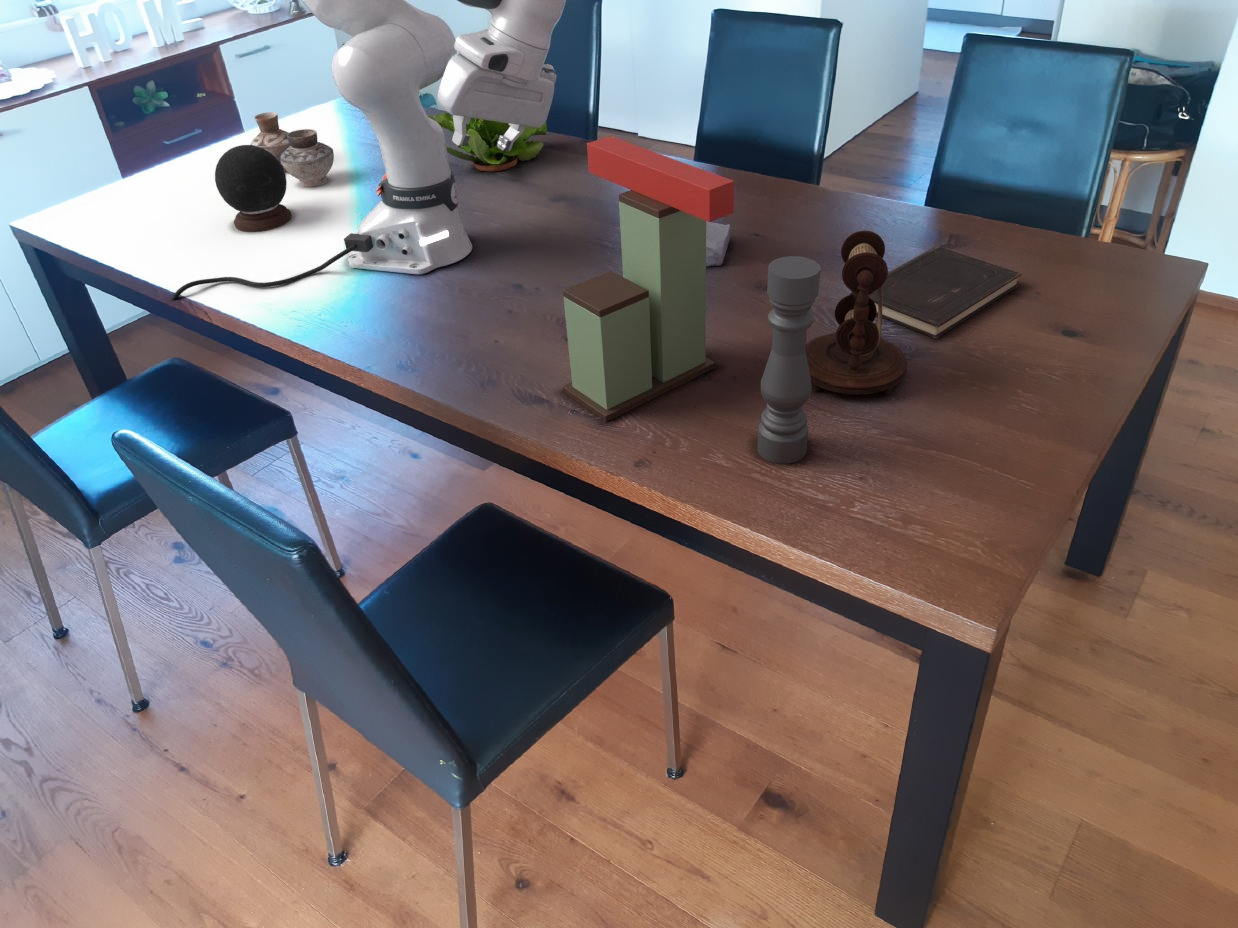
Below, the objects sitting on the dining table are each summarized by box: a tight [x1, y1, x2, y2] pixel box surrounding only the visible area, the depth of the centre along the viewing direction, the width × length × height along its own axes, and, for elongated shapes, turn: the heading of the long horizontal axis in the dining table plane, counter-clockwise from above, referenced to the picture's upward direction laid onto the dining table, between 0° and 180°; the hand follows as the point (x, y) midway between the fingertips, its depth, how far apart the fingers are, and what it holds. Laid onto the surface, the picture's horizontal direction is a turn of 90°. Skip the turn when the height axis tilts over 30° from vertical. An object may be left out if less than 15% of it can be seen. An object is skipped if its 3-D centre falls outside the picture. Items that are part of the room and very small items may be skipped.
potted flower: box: [427, 112, 548, 173], centre depth 198 cm, size 25×24×18 cm
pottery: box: [250, 111, 335, 188], centre depth 202 cm, size 11×25×12 cm, turn 47°
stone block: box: [706, 221, 731, 267], centre depth 162 cm, size 12×5×10 cm
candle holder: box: [756, 255, 821, 465], centre depth 108 cm, size 6×6×25 cm
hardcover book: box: [849, 245, 1023, 340], centre depth 145 cm, size 16×23×2 cm
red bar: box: [586, 135, 735, 223], centre depth 116 cm, size 24×4×4 cm, turn 38°
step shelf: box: [562, 189, 716, 423], centre depth 122 cm, size 10×20×26 cm, turn 128°
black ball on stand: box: [214, 144, 293, 233], centre depth 181 cm, size 13×13×15 cm
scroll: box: [805, 230, 908, 396], centre depth 122 cm, size 15×15×20 cm
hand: (481, 147), depth 138 cm, fingers open, 8 cm apart
